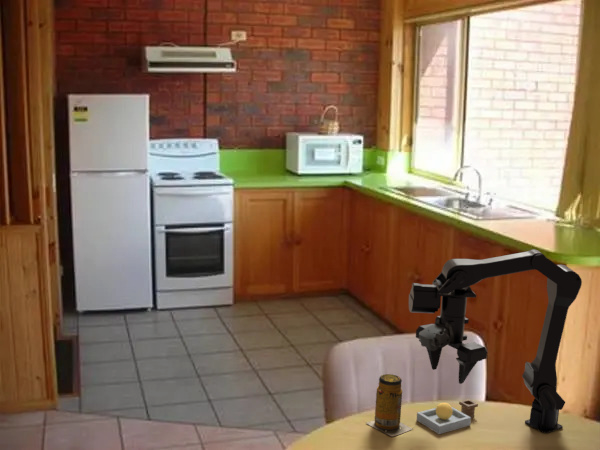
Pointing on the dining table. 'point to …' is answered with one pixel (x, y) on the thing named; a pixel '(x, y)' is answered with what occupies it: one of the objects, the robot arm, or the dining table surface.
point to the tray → (440, 425)
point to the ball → (444, 411)
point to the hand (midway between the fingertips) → (447, 376)
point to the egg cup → (468, 407)
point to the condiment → (389, 406)
